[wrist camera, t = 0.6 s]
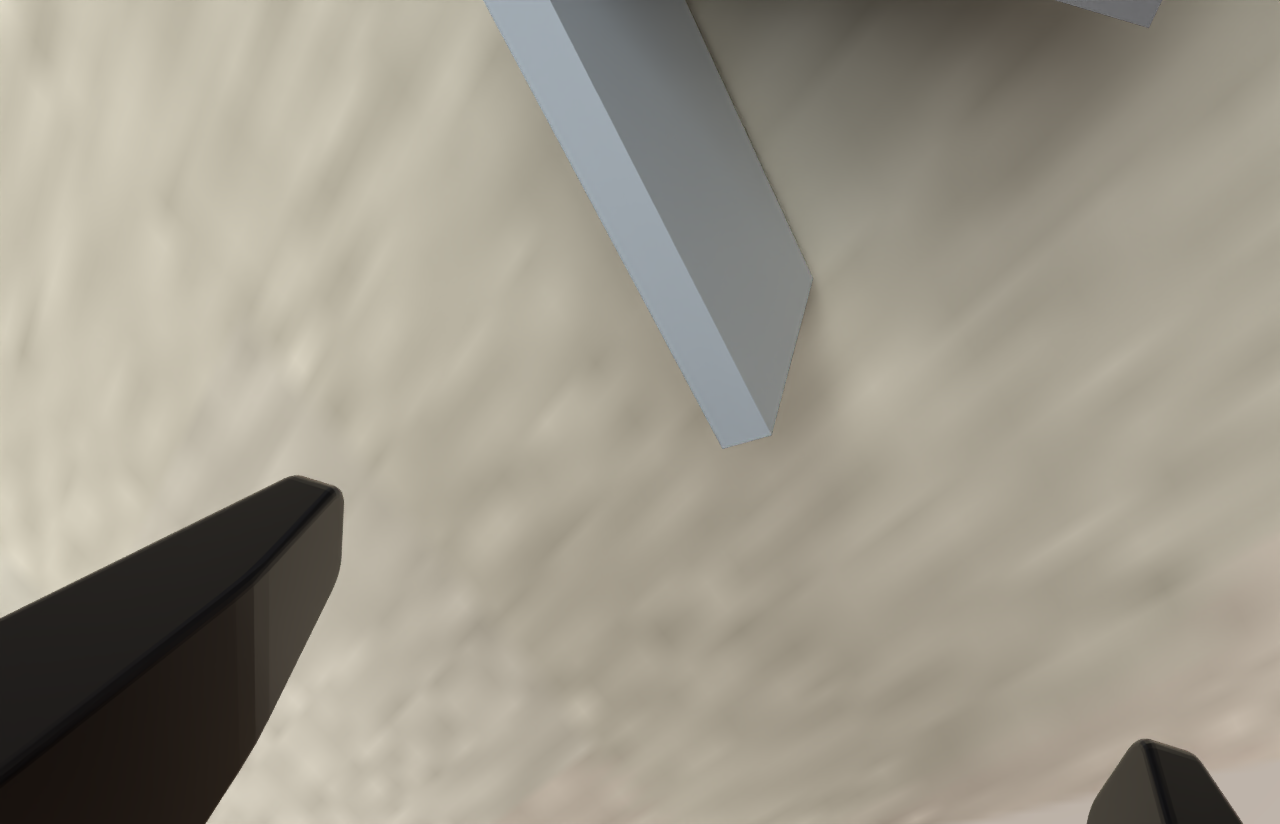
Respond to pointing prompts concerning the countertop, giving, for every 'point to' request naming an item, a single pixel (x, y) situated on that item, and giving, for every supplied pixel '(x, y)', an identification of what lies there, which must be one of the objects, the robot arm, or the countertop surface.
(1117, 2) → the grey squat block
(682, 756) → the countertop surface
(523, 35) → the side door
